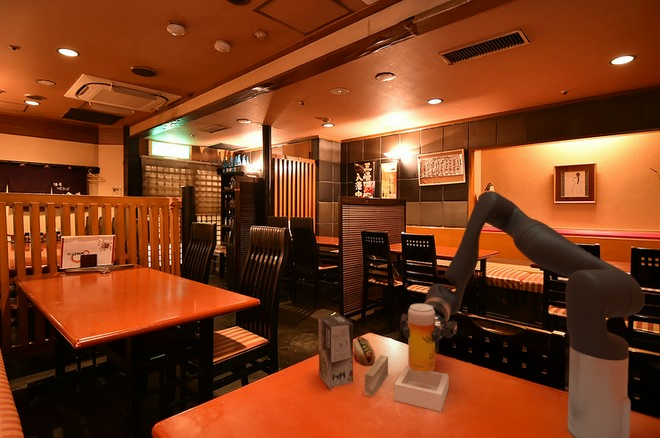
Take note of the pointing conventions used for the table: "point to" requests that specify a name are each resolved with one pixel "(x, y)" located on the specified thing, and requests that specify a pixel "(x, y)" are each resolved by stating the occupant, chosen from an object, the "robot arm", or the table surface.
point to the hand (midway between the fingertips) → (420, 335)
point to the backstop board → (376, 375)
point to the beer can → (421, 338)
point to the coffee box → (335, 350)
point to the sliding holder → (422, 389)
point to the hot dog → (364, 351)
